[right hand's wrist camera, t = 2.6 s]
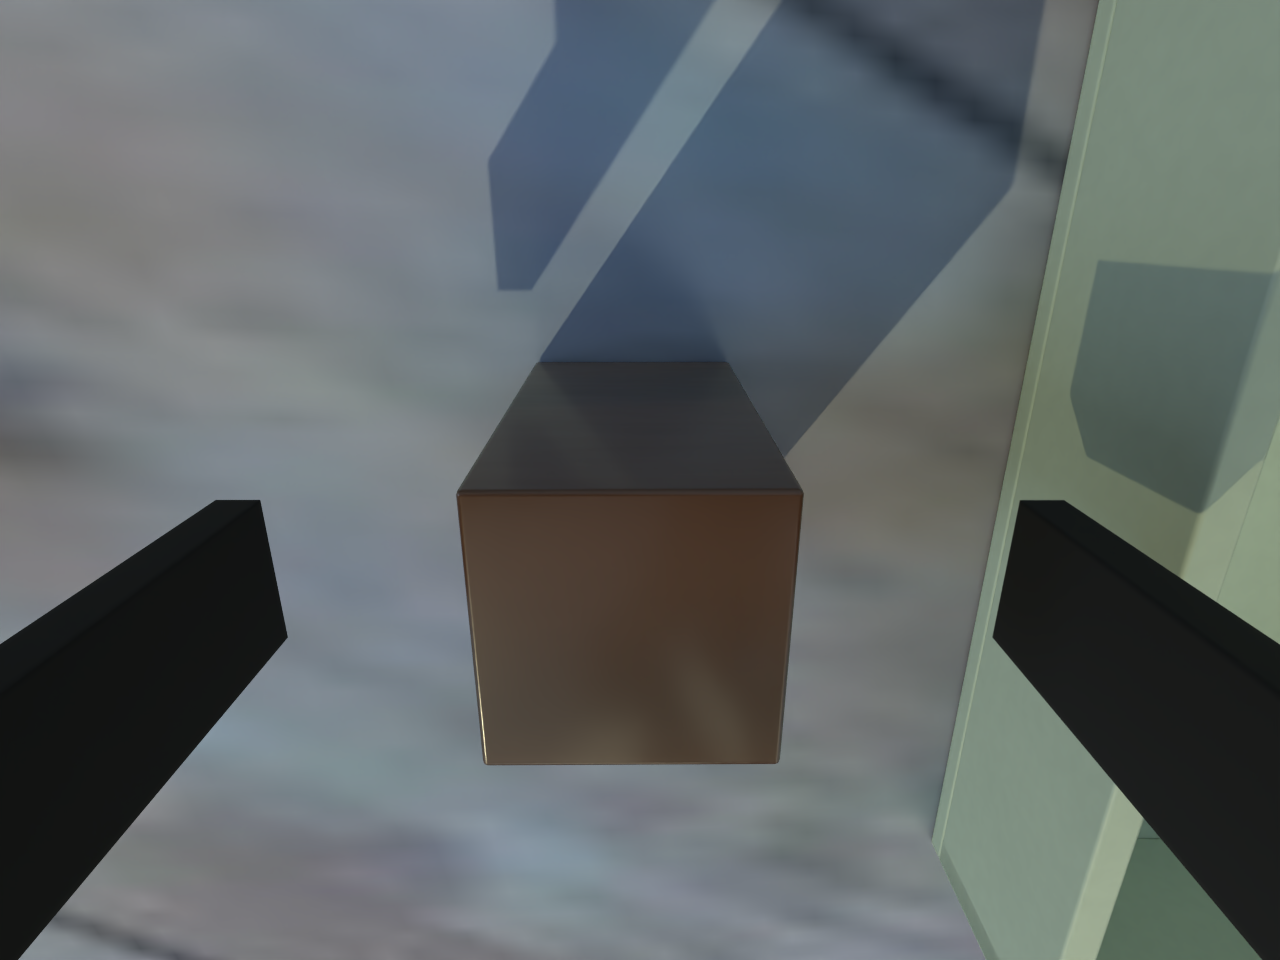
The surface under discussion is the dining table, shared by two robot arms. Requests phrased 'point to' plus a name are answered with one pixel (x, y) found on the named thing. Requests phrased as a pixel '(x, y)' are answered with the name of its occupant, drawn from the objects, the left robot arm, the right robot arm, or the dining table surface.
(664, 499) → the walnut block
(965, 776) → the tote
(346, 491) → the dining table surface
